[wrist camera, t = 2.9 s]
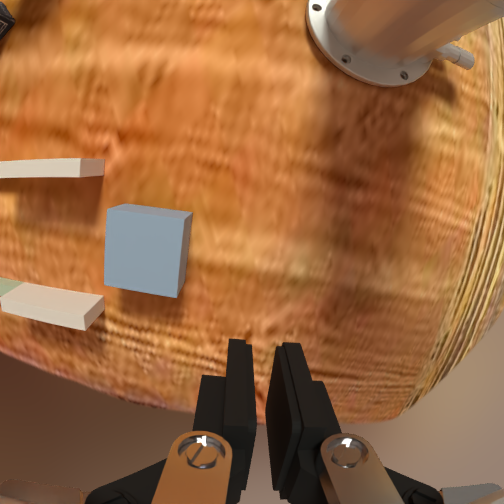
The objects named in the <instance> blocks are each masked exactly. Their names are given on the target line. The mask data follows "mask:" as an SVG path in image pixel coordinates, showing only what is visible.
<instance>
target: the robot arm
mask: <svg viewBox="0 0 504 504" xmlns="http://www.w3.org/2000/svg"><path fill="white" fill-rule="evenodd" d="M314 10H316V11H314ZM502 17H504V0H308V1H307V6H306V21H307V26H308V29H309V32H310V35H311V36H312V38H313V40H314V42H315V43H316V45H317V47H318V48H319V49H320V50H321V52H322V53H323V54H324V55H325V57H326V58H328V59H329V60H330V61H331V62H332V63H333V64H334V65H335V66H336V67H338V68H339V69H340V70H342V71H343V72H345V73H346V74H348V75H350V76H351V77H353V78H355V79H357V80H359V81H362V82H365V83H368V84H370V85H375V86H380V87H399V86H403V85H407V84H409V83H411V82H414V81H416V80H417V79H419V78H420V77H422V76H423V75H424V74H425V73H426V71H427V70H428V69H429V67H430V65H431V63H432V61H433V59H434V58H435V59H437V60H440V61H444V60H445V59H446V60H449V61H451V62H452V63H454V64H456V65H458V66H460V67H462V68H464V69H466V70H469V69H471V68H472V67H473V64H474V56H473V54H472V53H470V52H468V51H466V50H464V49H462V48H460V47H458V46H454V45H452V44H450V42H452V41H454V40H455V41H458V40H460V38H461V37H462V36H464V35H466V34H468V33H470V32H472V31H474V30H476V29H478V28H480V27H482V26H484V25H486V24H488V23H491V22H493V21H495V20H497V19H499V18H502ZM342 60H344V61H345V62H346V63H344V62H343V61H342ZM401 77H402V78H401ZM265 416H266V426H267V436H268V446H269V456H270V465H271V475H272V485H273V490H274V491H278V490H279V493H280V499H287V500H288V502H289V503H291V504H504V489H502V488H501V487H500V486H499V485H496V484H492V483H487V484H480V485H471V486H461V487H449V488H441V490H440V491H437V490H436V489H434V488H433V487H431V486H429V485H426V484H423V483H421V482H419V481H416V480H414V479H411V478H409V477H407V476H404V475H402V474H400V473H397V472H395V471H393V470H391V469H388V468H386V467H384V466H383V465H382V463H381V461H380V459H379V458H378V456H377V454H376V452H375V451H374V449H373V447H372V446H371V445H370V444H369V442H368V441H366V440H365V439H364V438H362V437H359V436H357V435H354V434H349V433H342V432H341V429H340V426H339V424H338V421H337V418H336V415H335V412H334V410H333V407H332V404H331V401H330V399H329V396H328V393H327V391H326V388H325V385H324V383H323V382H322V381H312V378H311V375H310V371H309V368H308V365H307V362H306V359H305V356H304V353H303V350H302V347H301V344H300V343H288V342H283V344H282V346H277V347H276V350H275V356H274V362H273V368H272V374H271V380H270V385H269V391H268V397H267V402H266V410H265ZM256 427H257V416H256V401H255V386H254V370H253V354H252V345H250V344H246V340H241V339H229V344H228V356H227V369H226V377H222V376H211V375H202V378H201V383H200V389H199V395H198V401H197V407H196V413H195V419H194V425H193V431H192V432H188V433H185V434H183V435H181V436H180V437H179V438H177V439H176V440H175V441H174V443H173V445H172V447H171V450H170V452H169V455H168V458H166V459H164V460H162V461H160V462H158V463H156V464H154V465H151V466H149V467H147V468H145V469H142V470H140V471H138V472H136V473H133V474H131V475H129V476H126V477H124V478H122V479H119V480H117V481H114V482H112V483H109V484H107V485H104V486H101V487H99V488H97V489H95V490H93V491H92V492H82V491H81V490H80V488H71V487H62V486H54V485H47V484H40V483H34V482H28V481H22V480H14V479H11V480H7V481H4V482H3V483H2V484H1V485H0V504H237V503H238V502H239V501H240V495H241V490H246V485H247V479H248V474H249V469H250V464H251V458H252V453H253V447H254V442H255V436H256Z"/></svg>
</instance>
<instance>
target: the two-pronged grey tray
mask: <svg viewBox="0 0 504 504" xmlns="http://www.w3.org/2000/svg"><path fill="white" fill-rule="evenodd" d="M104 163H105V159H87V158H67V159H37V160H18V161H3V162H0V178H19V177H89V176H103V175H104ZM0 296H1V297H0V302H1V307H2V311H4V312H8V313H11V314H15V315H19V316H23V317H26V318H30V319H34V320H38V321H43V322H47V323H51V324H56V325H60V326H65V327H69V328H74V329H79V330H84V331H86V330H87V328H88V327H89V326H90V325H91V324H92V323H93V322H94V321H95V319H96V318H97V317H98V316H99V315H100V314H101V313H102V312H103V311H104V309H105V307H104V296H102V295H95V294H89V293H83V292H76V291H70V290H64V289H59V288H53V287H47V286H42V285H36V284H31V283H26V282H21V281H16V280H11V279H6V278H1V277H0Z"/></svg>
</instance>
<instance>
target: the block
mask: <svg viewBox="0 0 504 504" xmlns="http://www.w3.org/2000/svg"><path fill="white" fill-rule="evenodd" d="M192 214H193V212H186V211H178V210H171V209H164V208H156V207H148V206H140V205H132V204H122V205H118V206H115V207H112V208H109V209H107V220H106V237H105V265H104V285H107V286H112V287H117V288H122V289H128V290H133V291H139V292H144V293H150V294H156V295H161V296H167V297H173V298H177V296H178V294H179V292H180V290H181V288H182V286H183V284H184V282H185V276H186V266H187V256H188V247H189V239H190V230H191V222H192Z"/></svg>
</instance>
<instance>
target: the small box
mask: <svg viewBox="0 0 504 504" xmlns="http://www.w3.org/2000/svg"><path fill="white" fill-rule="evenodd" d="M14 23H15V19H14V18H13V17H12V15H11V14H10V13H9V11H8V10H7V8H6V6H5V5H4V4H3V3H2V2H0V40H1V39H2V37H3V36H4V35H5V34H6V33H7V31H8V30H9V29H10V28H11V27H12V26H13V24H14Z"/></svg>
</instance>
